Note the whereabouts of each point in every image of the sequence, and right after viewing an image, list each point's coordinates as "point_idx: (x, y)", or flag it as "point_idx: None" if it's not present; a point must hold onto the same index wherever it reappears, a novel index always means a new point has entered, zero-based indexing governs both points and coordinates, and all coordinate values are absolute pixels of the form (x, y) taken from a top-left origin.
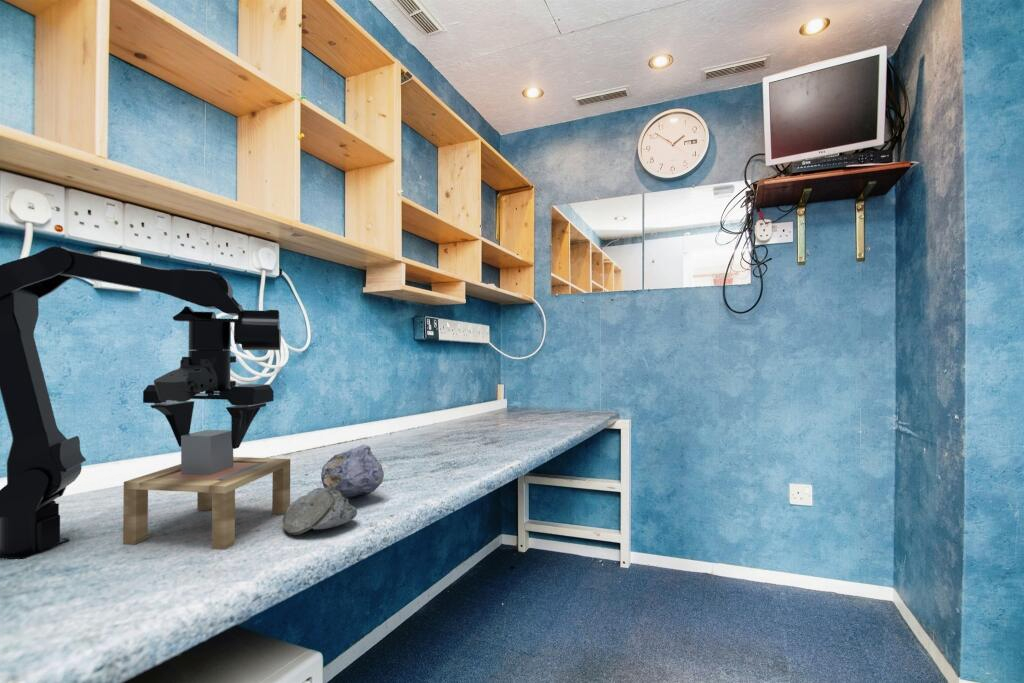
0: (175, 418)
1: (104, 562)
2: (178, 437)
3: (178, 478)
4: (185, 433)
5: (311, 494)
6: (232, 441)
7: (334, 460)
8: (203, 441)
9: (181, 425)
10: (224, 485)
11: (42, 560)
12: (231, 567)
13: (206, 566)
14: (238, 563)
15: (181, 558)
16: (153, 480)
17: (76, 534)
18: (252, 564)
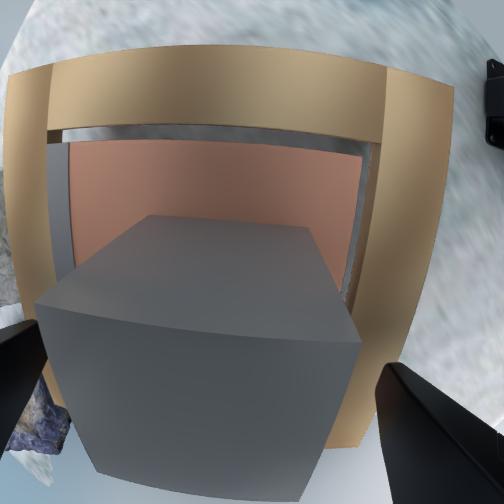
0: (498, 500)
1: (329, 17)
2: (420, 393)
3: (267, 152)
4: (398, 445)
5: (2, 281)
6: (9, 332)
7: (31, 421)
8: (115, 290)
9: (437, 478)
10: (14, 83)
11: (455, 46)
12: (60, 39)
13: (101, 28)
14: (56, 54)
15: (171, 42)
16: (350, 97)
17: (494, 174)
18: (36, 60)
